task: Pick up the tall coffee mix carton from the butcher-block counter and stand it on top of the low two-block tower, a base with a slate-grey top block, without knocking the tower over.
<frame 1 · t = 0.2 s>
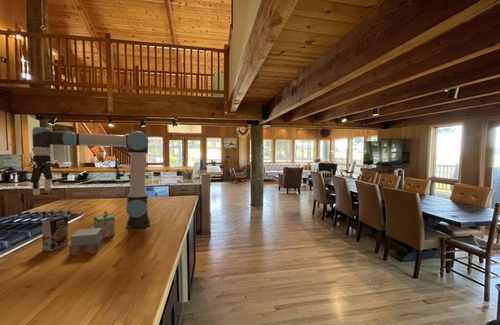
hand: (42, 192, 135), 28 cm above the kitchen island, tool pointing down, fingers open, 13 cm apart
tower top: (87, 241, 125), point 5 cm above the kitchen island, touching tower base
chalk box: (104, 236, 146), on the kitchen island
tower base: (87, 250, 125), on the kitchen island, touching tower top
coffee box: (55, 248, 127), on the kitchen island
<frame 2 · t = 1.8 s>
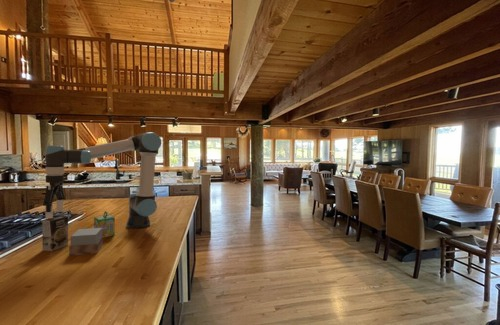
hand: (54, 214, 126), 18 cm above the kitchen island, tool pointing down, fingers open, 13 cm apart
tower top: (87, 241, 125), point 5 cm above the kitchen island
tower base: (87, 250, 125), on the kitchen island
everything else where it was.
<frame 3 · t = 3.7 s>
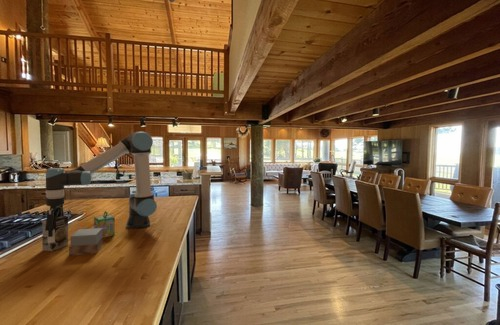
hand: (55, 238, 127), 5 cm above the kitchen island, tool pointing down, fingers closed on coffee box, 10 cm apart
tower top: (87, 241, 125), point 5 cm above the kitchen island, touching tower base
tower base: (86, 250, 125), on the kitchen island, touching tower top
coffee box: (55, 248, 127), on the kitchen island, touching gripper
everything else where it was.
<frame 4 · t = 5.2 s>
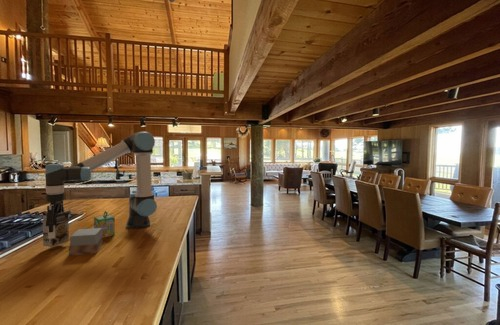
hand: (56, 234, 127), 7 cm above the kitchen island, tool pointing down, fingers closed on coffee box, 10 cm apart
coffee box: (56, 243, 127), point 2 cm above the kitchen island, touching gripper
everything else where it was.
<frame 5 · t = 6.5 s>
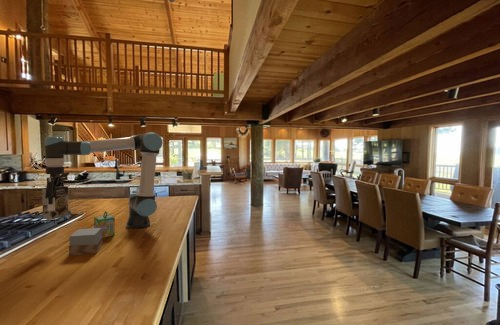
hand: (56, 207, 126), 21 cm above the kitchen island, tool pointing down, fingers closed on coffee box, 10 cm apart
coffee box: (56, 217, 126), point 16 cm above the kitchen island, touching gripper
everything else where it was.
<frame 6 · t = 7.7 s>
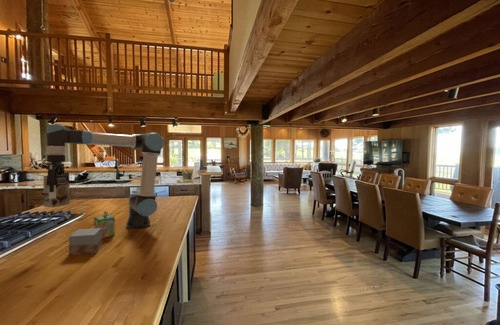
hand: (57, 196, 126), 28 cm above the kitchen island, tool pointing down, fingers closed on coffee box, 10 cm apart
coffee box: (57, 205, 126), point 23 cm above the kitchen island, touching gripper
everything else where it was.
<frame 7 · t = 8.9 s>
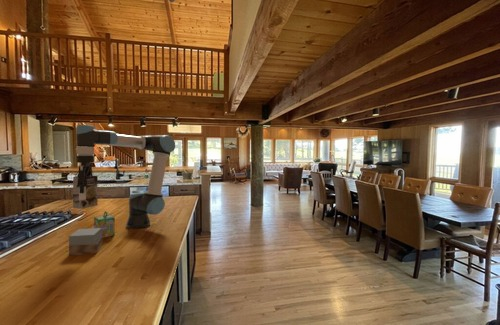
hand: (85, 197, 124), 28 cm above the kitchen island, tool pointing down, fingers closed on coffee box, 10 cm apart
coffee box: (85, 207, 124), point 23 cm above the kitchen island, touching gripper
everything else where it was.
when the fingers open (16 cm above the kitchen island, at t = 12.0 s): coffee box drops 1 cm, point 9 cm above the kitchen island.
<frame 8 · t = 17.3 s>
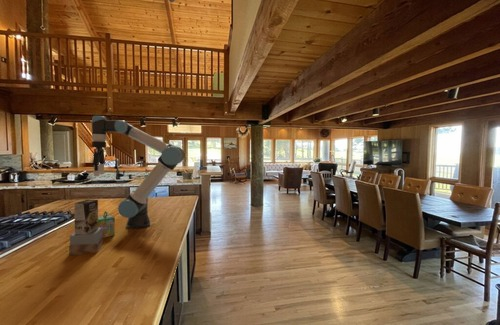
hand: (99, 175, 150), 37 cm above the kitchen island, tool pointing down, fingers open, 13 cm apart
coffee box: (87, 232, 125), point 9 cm above the kitchen island
at the end: coffee box inside the target area on the tower top (0.9 cm from its centre), point 4.8 cm above the tower top's base; coffee box tilted 0°; tower top point 4.6 cm above the kitchen island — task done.
